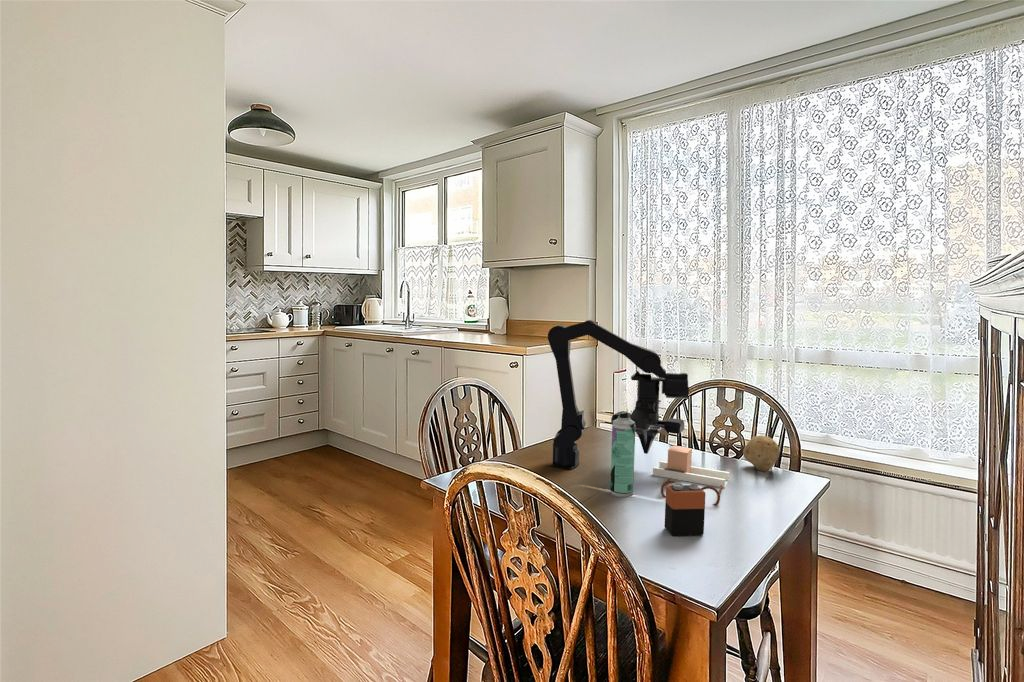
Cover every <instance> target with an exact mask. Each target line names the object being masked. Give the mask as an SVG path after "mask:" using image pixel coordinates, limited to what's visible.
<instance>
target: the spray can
mask: <svg viewBox="0 0 1024 682" xmlns="http://www.w3.org/2000/svg"><path fill="white" fill-rule="evenodd" d="M620 412H621V413H620V415H619V416H618V418H617V419H616V420H613V424H611V426H612V427H611V454H610V455H611V456H610V457H611V458H610V483H609V485H610V486H609V487H610V488H609V489H610V490H609V492H610V494H611V495H613V496H615V497H619V498H627V497H628V498H629V497H632V496H633V495H634V482H635V481H634V479H635V477H634V474H635V451H636V450H635V448H636V432H635V422H634V421H632V420H631V419H630V417H629V416H628V413H629V412H628V411H625V410H624V411H620Z"/></svg>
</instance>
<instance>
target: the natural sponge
mask: <svg viewBox="0 0 1024 682" xmlns="http://www.w3.org/2000/svg"><path fill="white" fill-rule="evenodd" d="M779 454H780V447H779V445H778V443H777V442H776V441H775V440H774V439H773V438H771V437H770V436H767V435H762V434H760V435H755V436H754V437H752V438H751V439H750V440H749V441H748V442H747V444H746V445H745V446H744V448H743V450H742V456H743V457H744V459H745V460H746V461H747V462H749V463H750V464H752V466H754V467H755V469H757V470H759V471H763V472H768V471H769V470H771V469H772V468H773V467H774V466H775V464H776V463H777V461H778V459H779Z"/></svg>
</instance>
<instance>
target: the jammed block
mask: <svg viewBox="0 0 1024 682" xmlns="http://www.w3.org/2000/svg"><path fill="white" fill-rule="evenodd" d="M692 450H693V448H691V447H683V446H678V445H672V446H671V447H670V448H669V449H668V450H667V462H668V465H667V468H669V469H675V470H681V471H685V472H686V473H691V466H692V455H693V454H692V453H693V451H692Z"/></svg>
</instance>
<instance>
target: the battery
mask: <svg viewBox="0 0 1024 682" xmlns="http://www.w3.org/2000/svg"><path fill="white" fill-rule="evenodd" d="M671 484H672V485H670V484H669V485H666V486H665V496H666V498H665V500H664V501H665V502H664V505H665V506H664V507H665V508H664V528H665V530H666V531H667V532H668V533H669V534H670V535H671V536H672V537H687V536H688V537H689V536H690V537H691V536H694V537H695V536H703V535H704V534H705V514H706V513H705V511H706V510H705V509H706V492H705V490H702V489H701V488H702V487H699V483H695V482H691V483H690V484H685V485H684V484H683V483H682V482H677V483H671Z"/></svg>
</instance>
